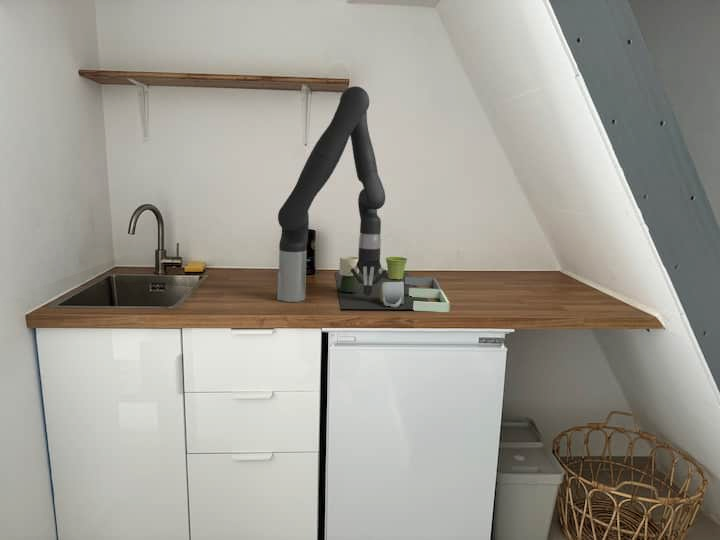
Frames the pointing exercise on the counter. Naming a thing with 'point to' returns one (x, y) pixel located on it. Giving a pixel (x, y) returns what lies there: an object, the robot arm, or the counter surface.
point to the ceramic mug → (392, 293)
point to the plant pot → (395, 267)
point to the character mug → (348, 273)
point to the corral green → (429, 305)
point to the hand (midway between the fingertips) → (367, 295)
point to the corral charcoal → (422, 282)
